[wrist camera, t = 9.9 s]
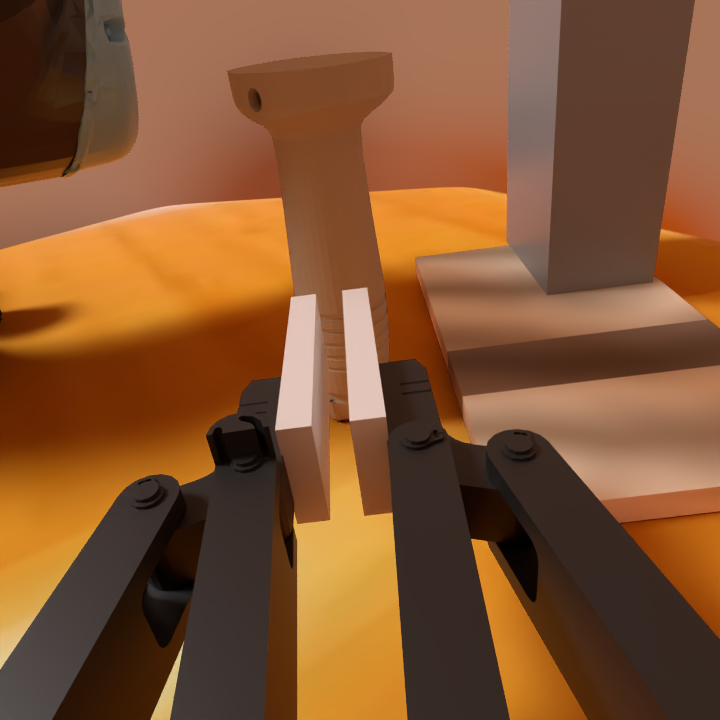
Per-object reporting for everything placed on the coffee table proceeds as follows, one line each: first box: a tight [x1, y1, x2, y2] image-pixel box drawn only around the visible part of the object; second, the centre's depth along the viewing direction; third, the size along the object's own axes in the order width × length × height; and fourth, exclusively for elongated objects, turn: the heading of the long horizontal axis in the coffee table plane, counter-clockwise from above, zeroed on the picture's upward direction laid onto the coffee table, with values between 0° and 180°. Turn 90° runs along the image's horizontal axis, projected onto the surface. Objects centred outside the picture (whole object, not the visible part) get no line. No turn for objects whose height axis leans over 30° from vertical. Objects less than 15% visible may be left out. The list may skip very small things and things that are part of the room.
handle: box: [227, 52, 394, 421], centre depth 25 cm, size 5×6×15 cm
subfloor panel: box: [415, 246, 720, 523], centre depth 31 cm, size 24×13×1 cm, turn 2°
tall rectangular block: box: [507, 0, 695, 295], centre depth 34 cm, size 9×6×15 cm
